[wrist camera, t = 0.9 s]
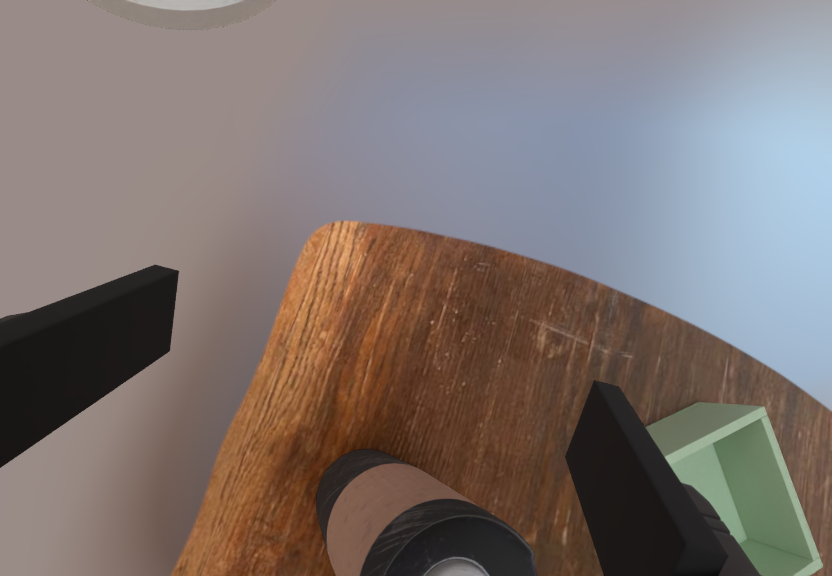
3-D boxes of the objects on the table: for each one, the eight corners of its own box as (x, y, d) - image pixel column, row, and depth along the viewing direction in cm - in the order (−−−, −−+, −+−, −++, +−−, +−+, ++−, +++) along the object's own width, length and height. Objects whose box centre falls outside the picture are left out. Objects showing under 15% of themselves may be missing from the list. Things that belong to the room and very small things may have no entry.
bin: (584, 455, 44) (639, 469, 38) (698, 401, 49) (764, 405, 42) (637, 610, 43) (703, 651, 37) (748, 540, 48) (823, 566, 41)
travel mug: (290, 517, 37) (323, 669, 18) (350, 425, 39) (435, 472, 20) (376, 571, 38) (492, 767, 19) (429, 478, 40) (581, 570, 21)
